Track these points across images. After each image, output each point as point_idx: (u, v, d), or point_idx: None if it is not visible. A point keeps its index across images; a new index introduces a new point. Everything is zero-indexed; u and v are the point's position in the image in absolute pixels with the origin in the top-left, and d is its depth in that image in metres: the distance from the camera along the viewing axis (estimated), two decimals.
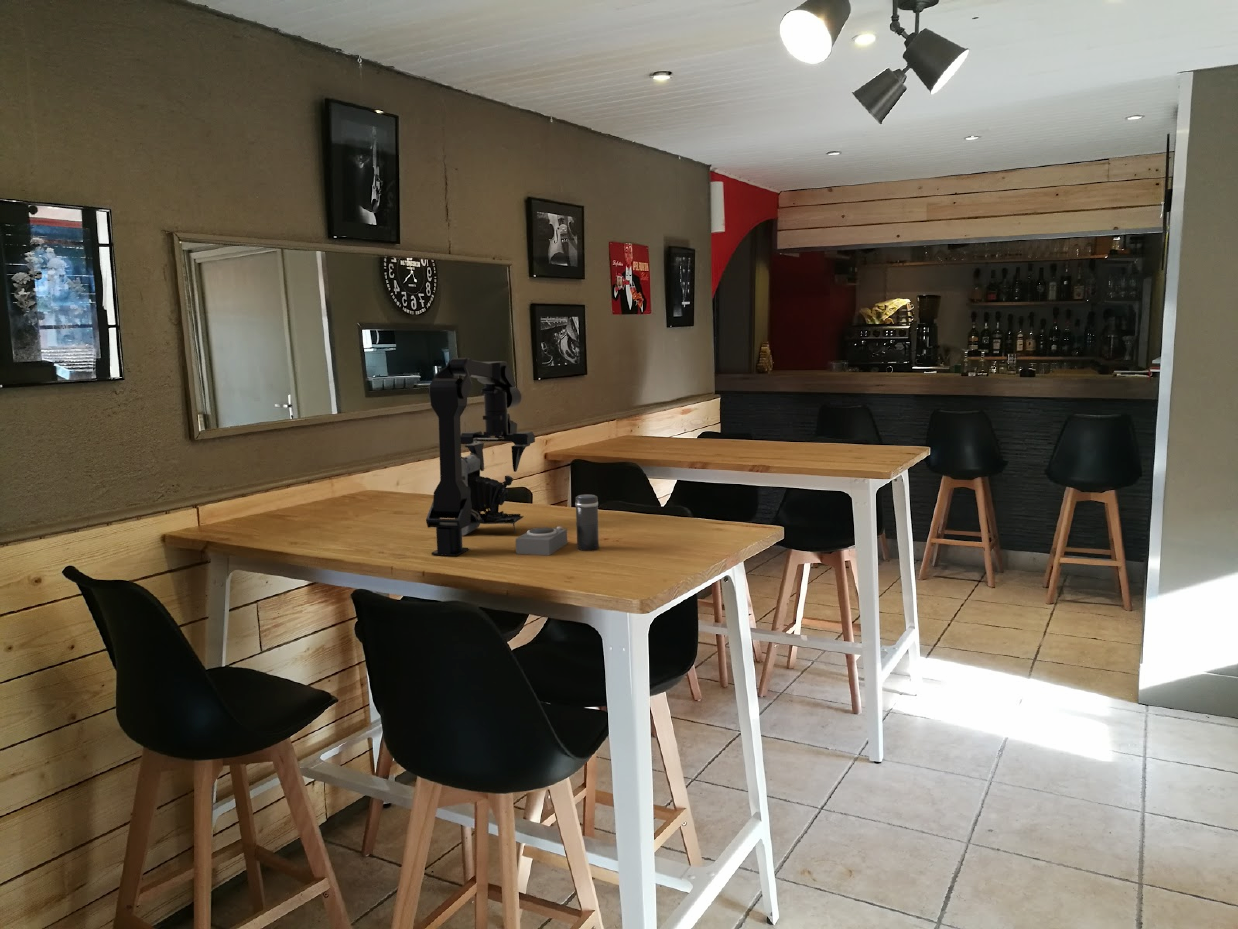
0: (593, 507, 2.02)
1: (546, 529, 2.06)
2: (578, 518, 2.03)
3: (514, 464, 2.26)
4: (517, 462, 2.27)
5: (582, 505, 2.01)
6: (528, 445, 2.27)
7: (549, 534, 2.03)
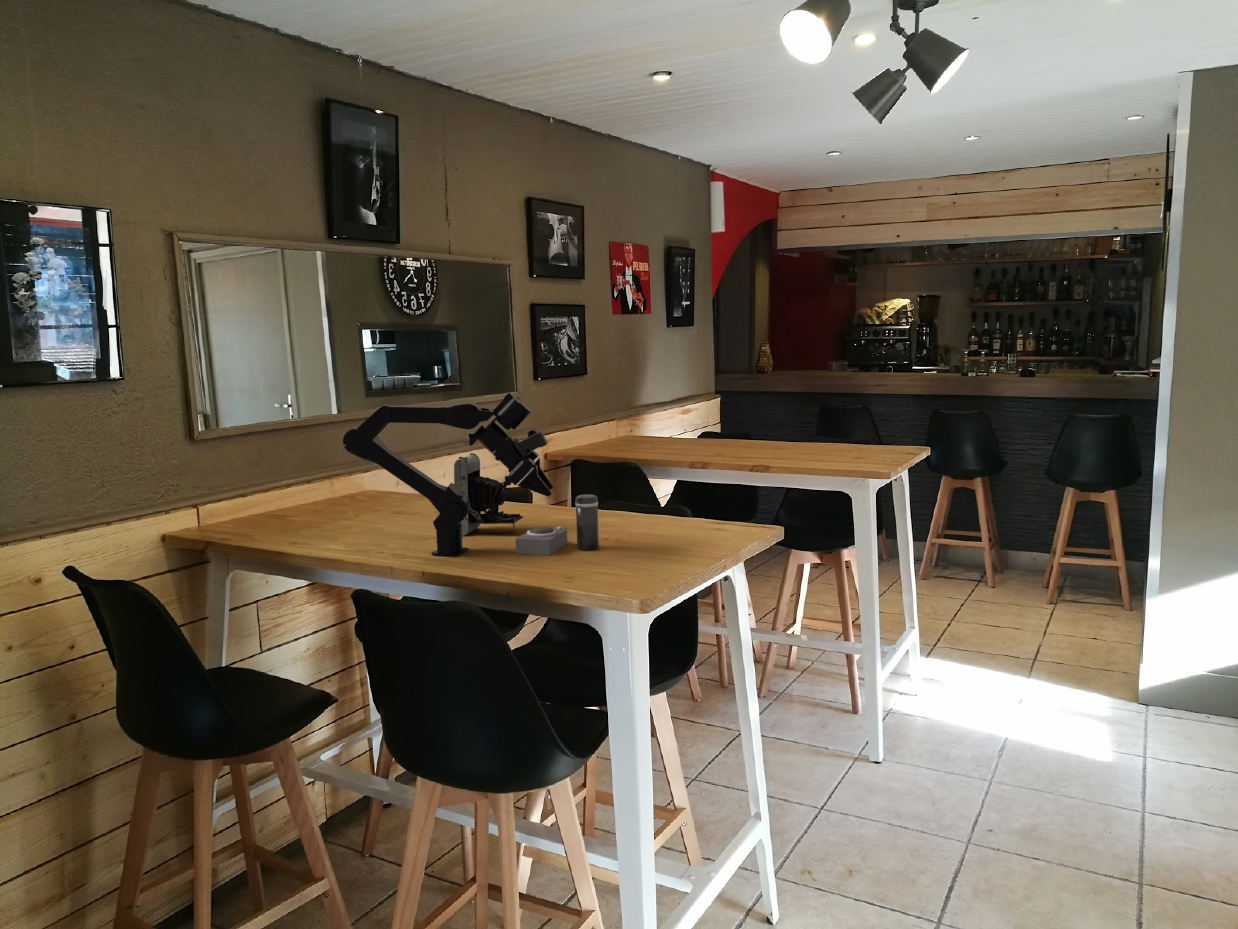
0: (593, 507, 2.02)
1: (546, 529, 2.06)
2: (578, 518, 2.02)
3: None
4: (540, 489, 1.97)
5: (582, 505, 2.01)
6: (531, 473, 1.94)
7: (549, 534, 2.03)
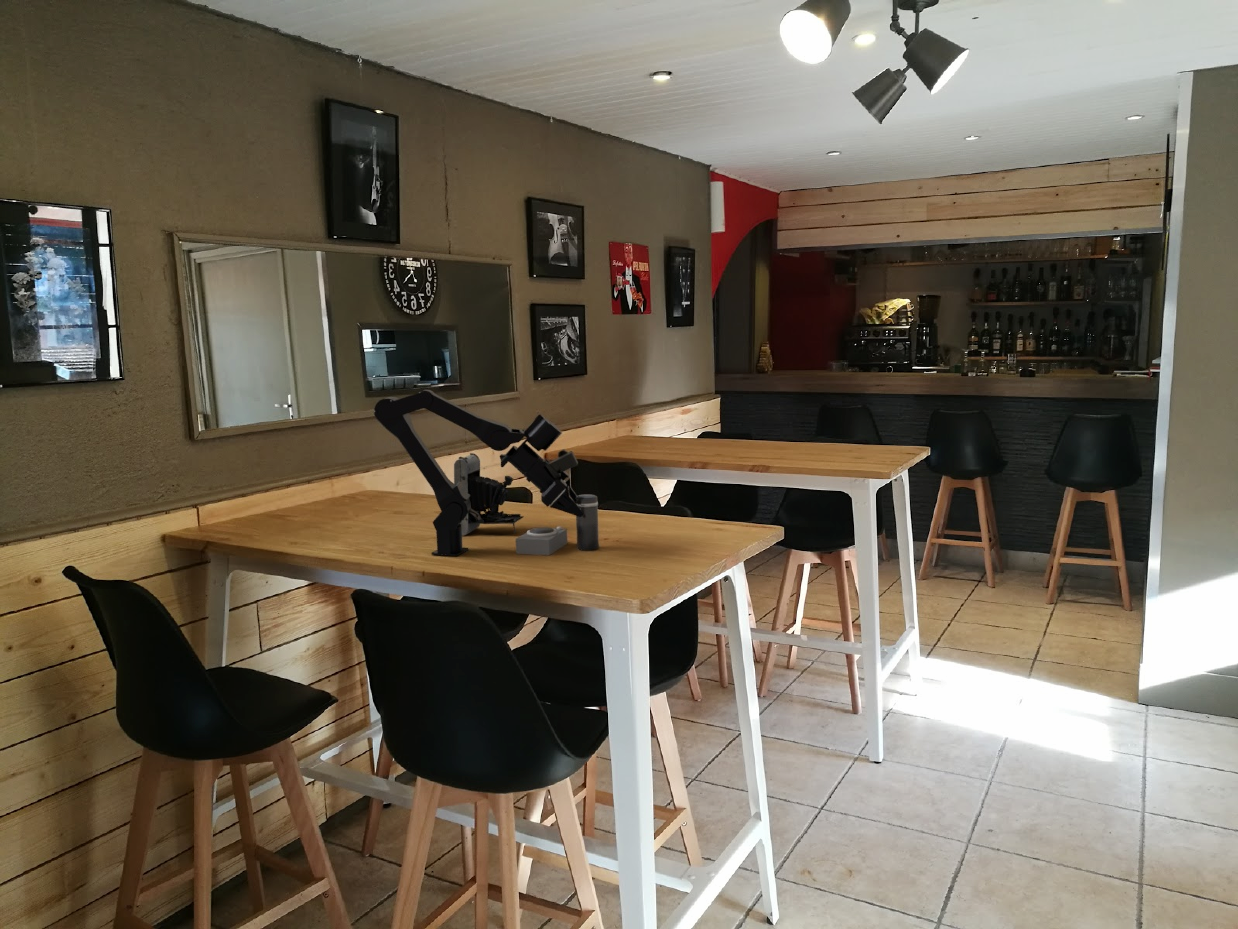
0: (593, 507, 2.02)
1: (546, 529, 2.06)
2: (578, 518, 2.03)
3: None
4: (572, 510, 1.98)
5: (582, 505, 2.01)
6: (563, 494, 1.95)
7: (549, 534, 2.03)
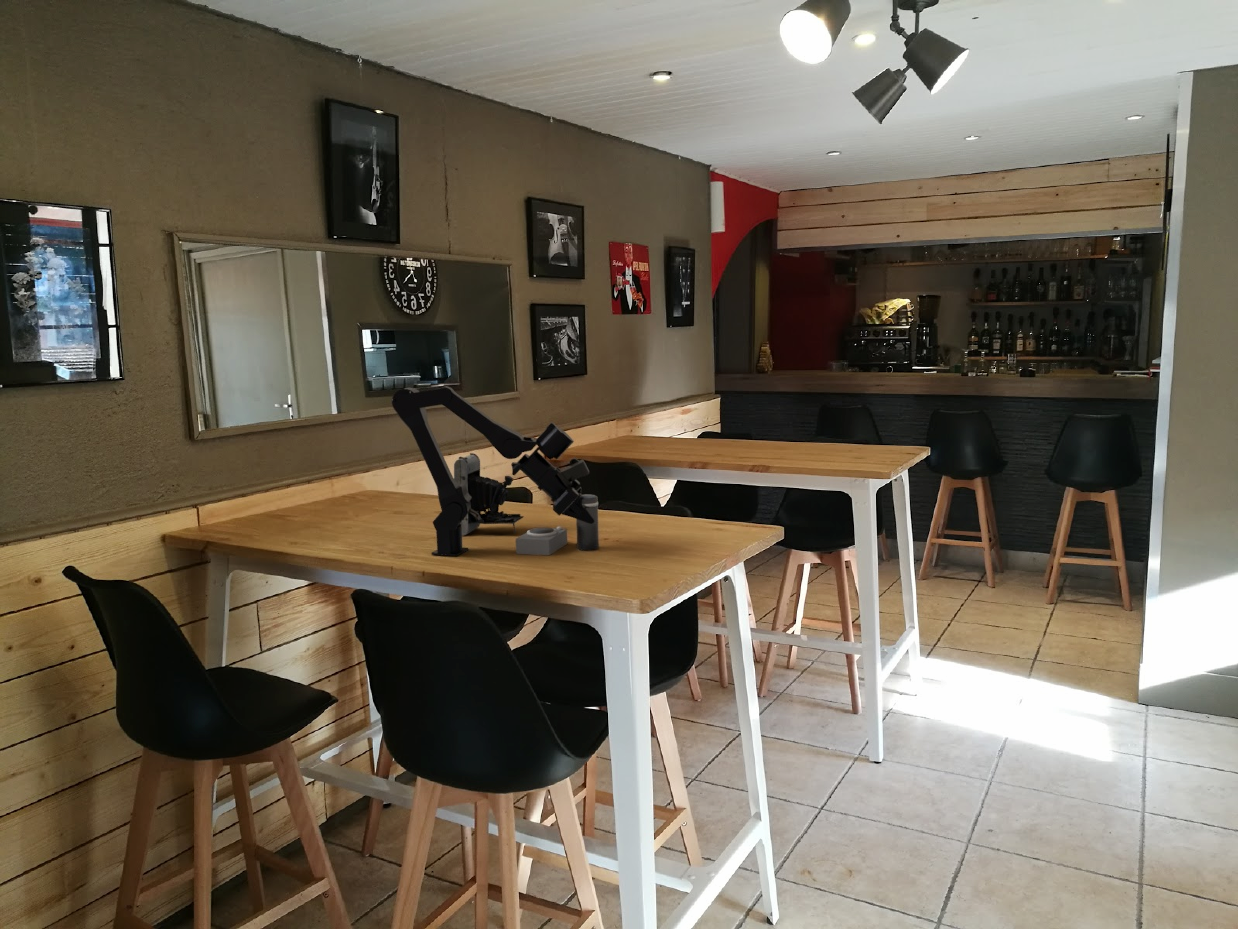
0: (594, 507, 2.02)
1: (546, 529, 2.06)
2: None
3: None
4: (584, 517, 2.00)
5: None
6: (575, 501, 1.97)
7: (549, 534, 2.03)
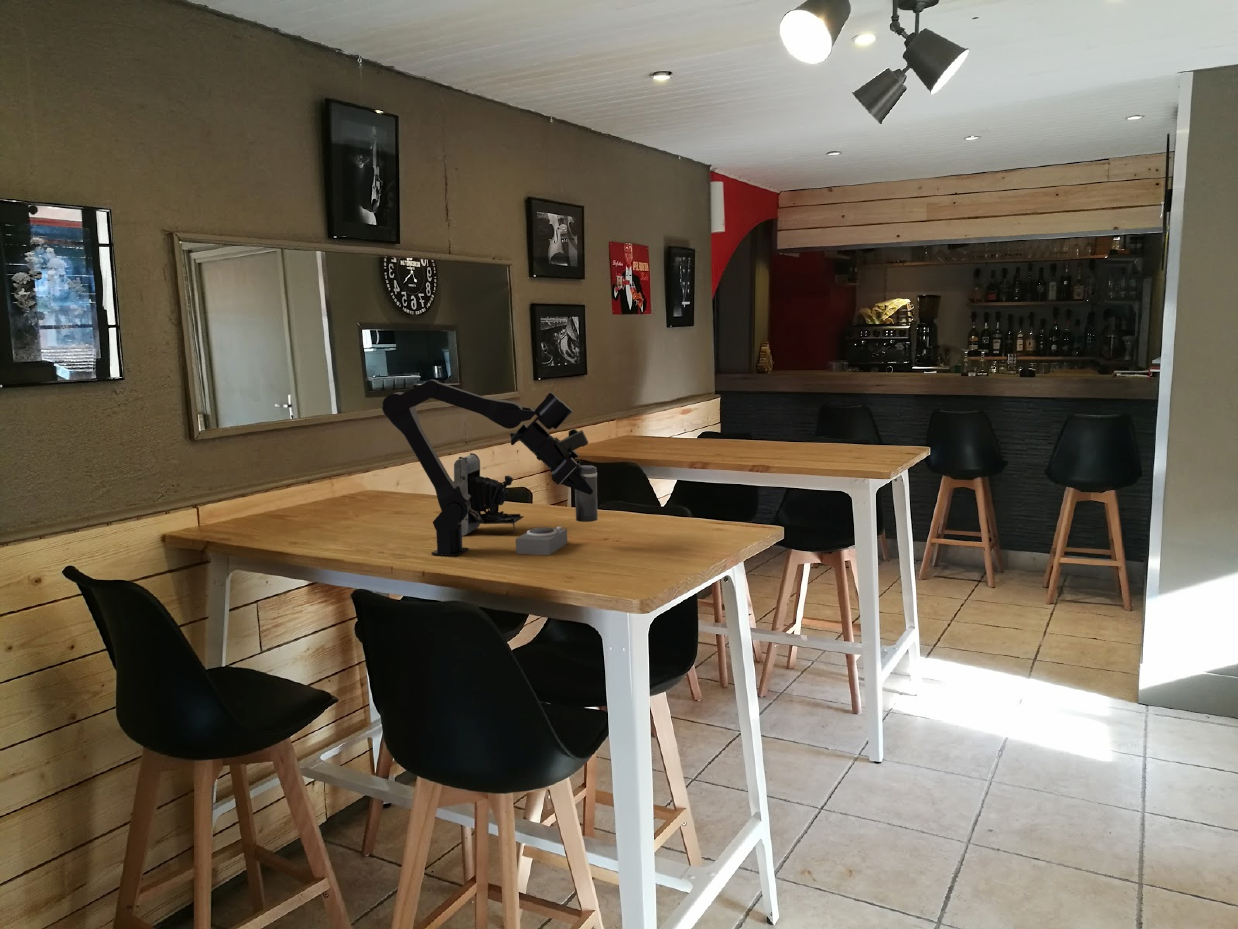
0: (592, 478, 2.01)
1: (546, 529, 2.06)
2: None
3: None
4: (582, 487, 1.99)
5: None
6: (573, 471, 1.96)
7: (549, 534, 2.03)
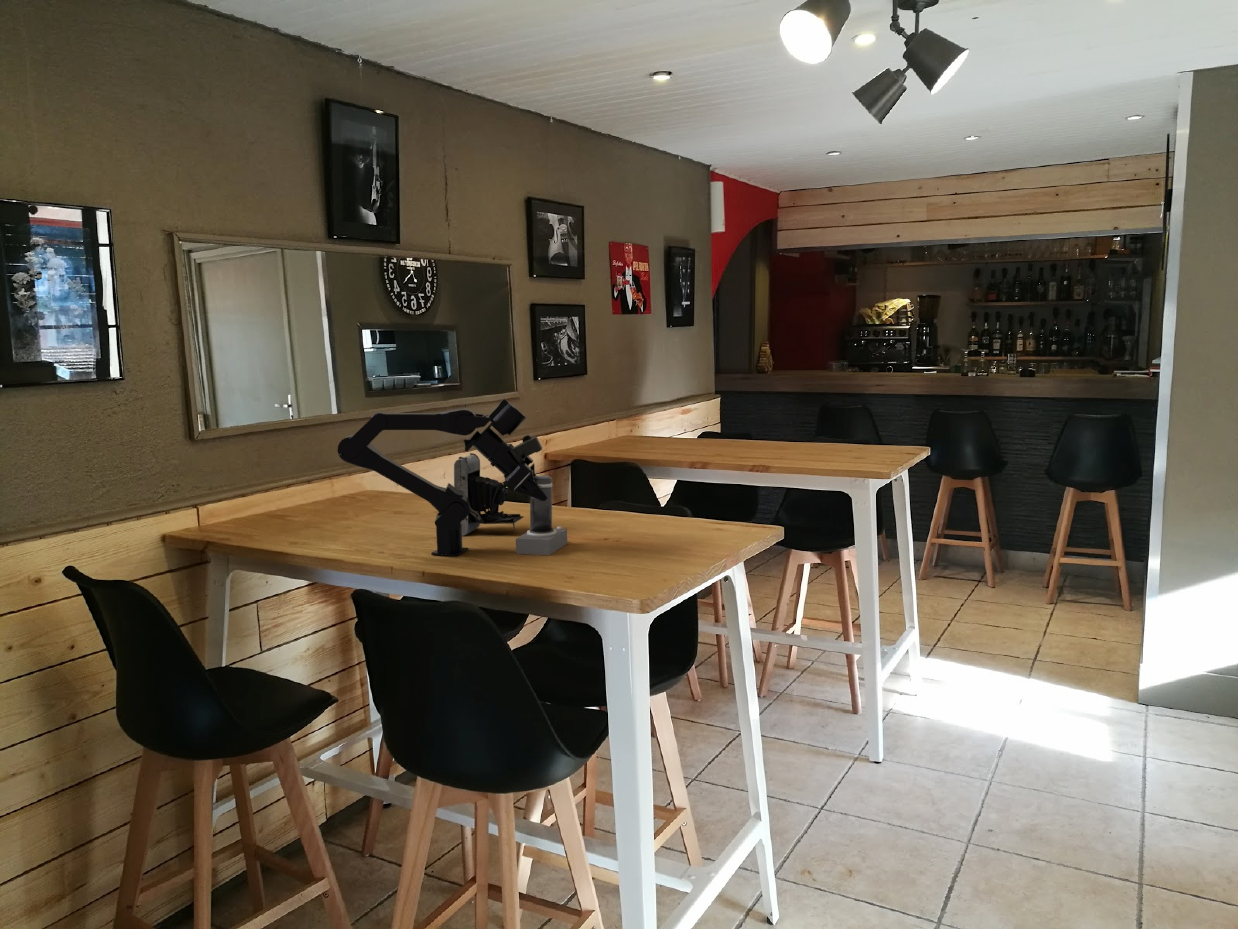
0: (548, 488, 2.03)
1: None
2: (532, 498, 2.03)
3: None
4: (536, 494, 2.00)
5: None
6: (527, 478, 1.96)
7: (549, 534, 2.03)
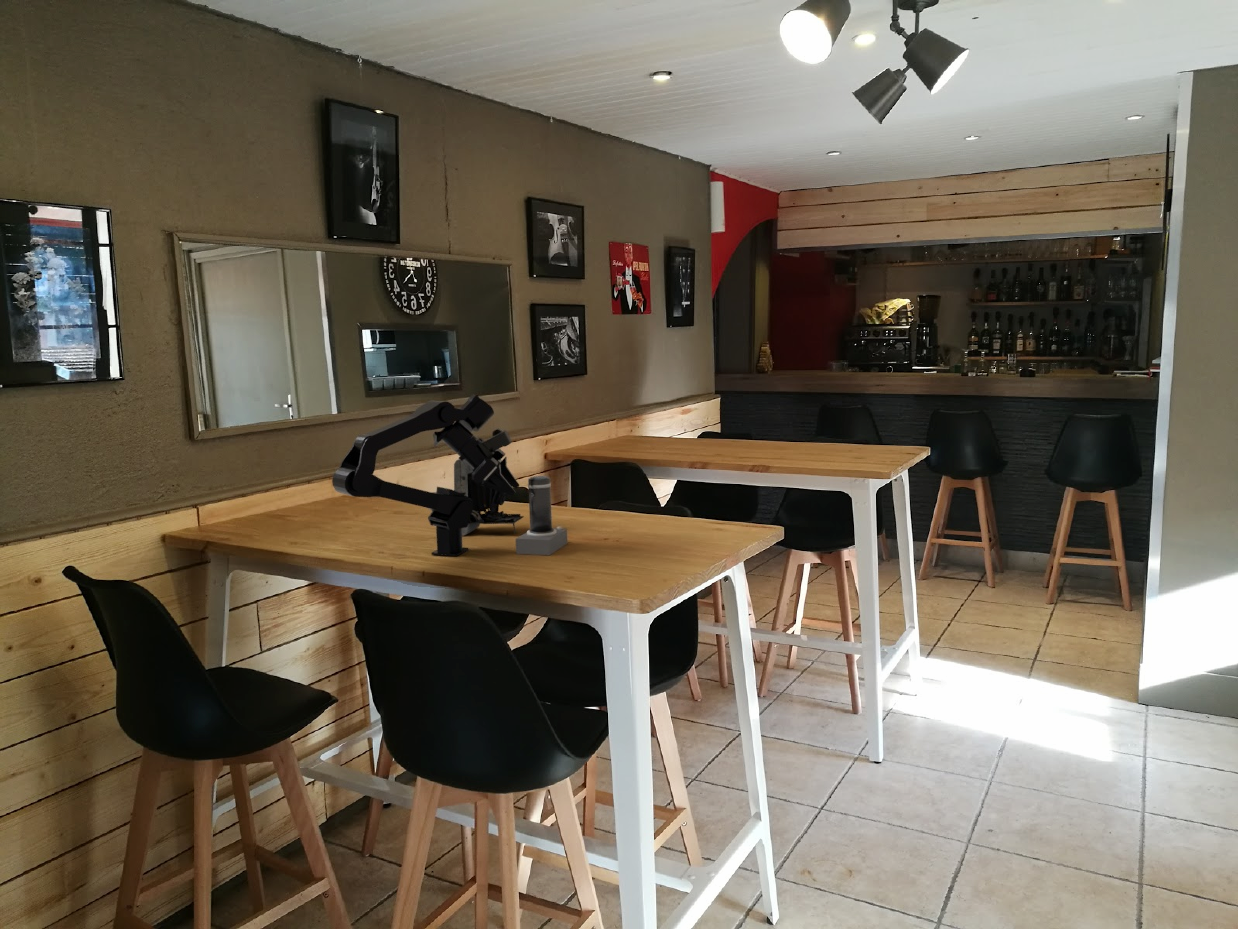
0: (546, 488, 2.02)
1: None
2: (531, 499, 2.03)
3: None
4: (504, 488, 1.99)
5: (535, 486, 2.02)
6: (493, 473, 1.96)
7: (549, 534, 2.03)
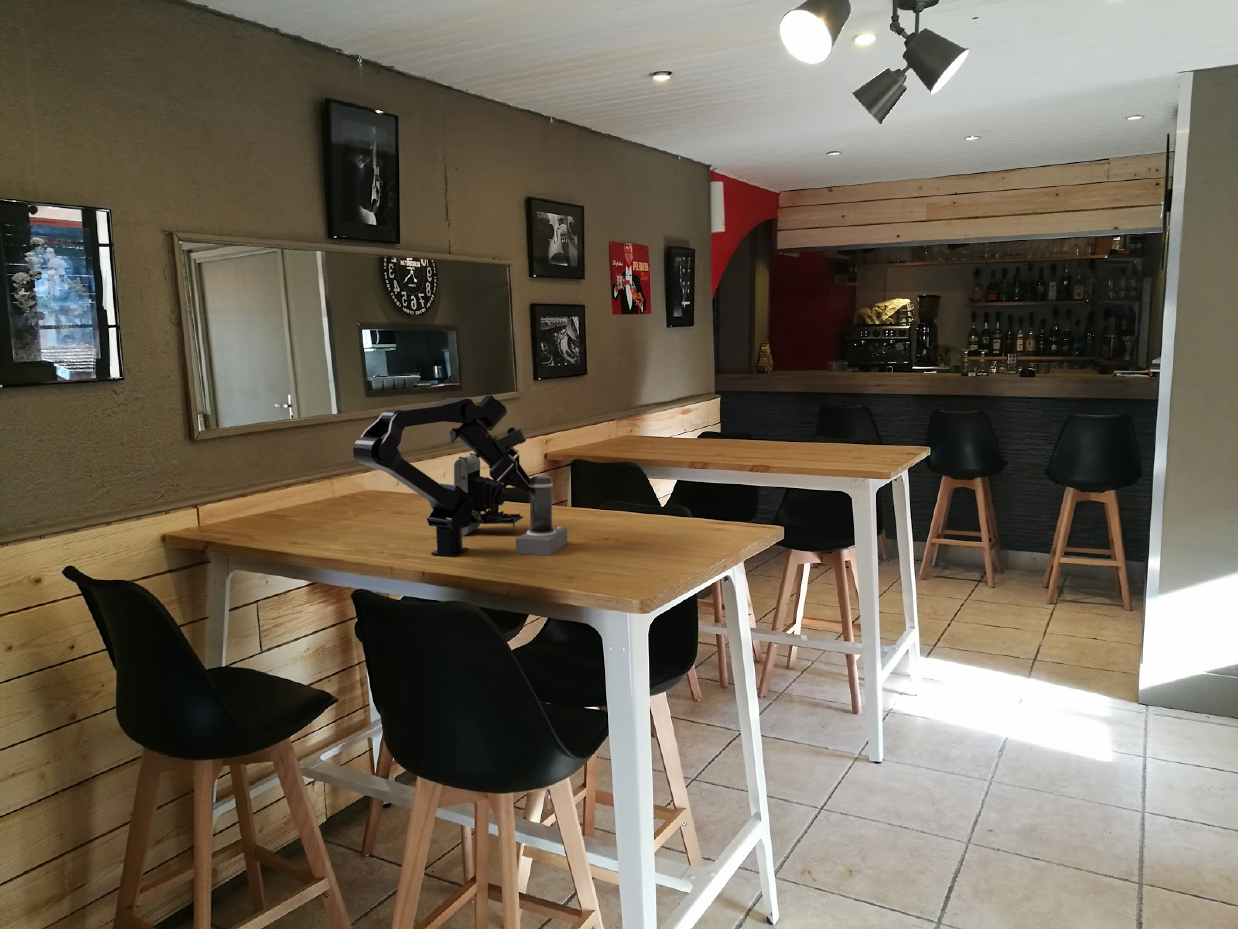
0: (548, 488, 2.03)
1: None
2: (532, 498, 2.03)
3: (519, 488, 2.05)
4: (520, 485, 2.04)
5: (536, 485, 2.02)
6: (511, 469, 2.01)
7: (549, 534, 2.03)
